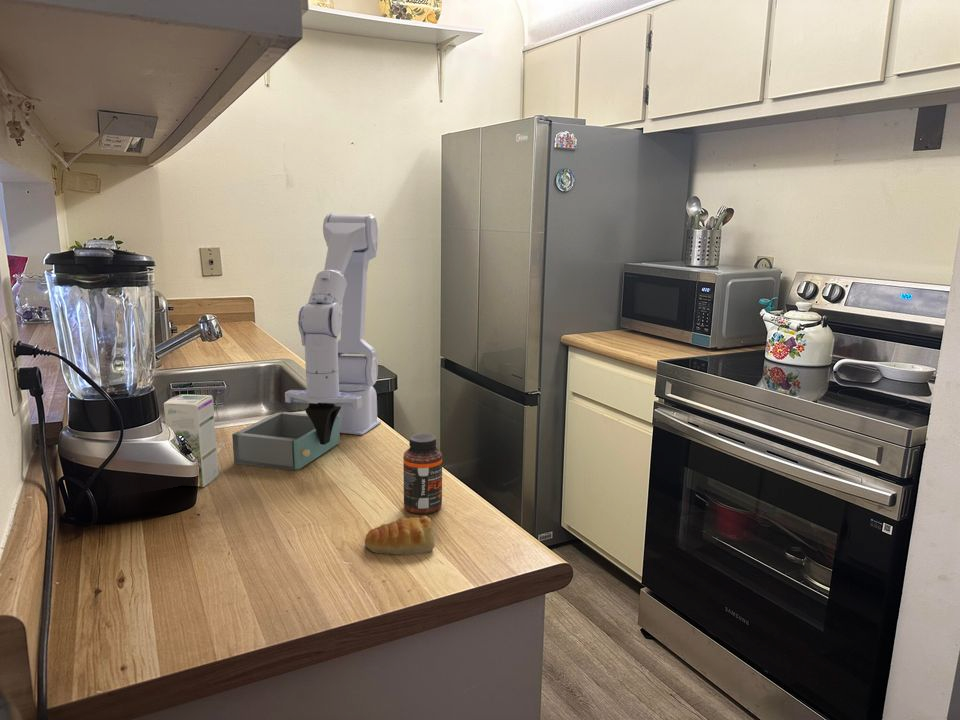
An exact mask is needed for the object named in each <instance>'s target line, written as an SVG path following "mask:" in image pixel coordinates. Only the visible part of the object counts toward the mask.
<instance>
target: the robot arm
mask: <svg viewBox="0 0 960 720" xmlns="http://www.w3.org/2000/svg"><path fill="white" fill-rule="evenodd" d="M322 223H323V224H322V233H323V239H324V241H325V243H326V247H327V251H326V252H327V253H326V258H325V263H324V269H323V270H321V271H319V272H318V273H317V274H316V275H315V279H314V282H313V286H312V289H311V292H310V296H309V298H308V301H307V303H306V304H305V305H304V306H301V307H300V310H299V311H298V316H297V317H298V318H297V320H298V321H297V324H298V325H297V327H298V331H299V334H300V336H301V337H300V338H301V341H300V342H301V345H302V346H303V347H304V361H305V383H306V386H305V387H306V389H305V390H304V389H290V390H287V391H285V392H284V398H285V403H289V404H291V403H301V404H308V407H306V408H305V414H307V415H308V416H309V418H310V419H311V421H312V423H313V425H314V427H315V429H316V432H317V435H318V438H319V442H320V444H322V445H325V444H327V443H328V442H330V437H331V432H332V428H333V425H334V422H335V419H336V417H337V416H338V417H339V430H340V433H341V434H349V435H357V436H358V435H359V436H363V435H365V434H366V433H368V432H369V431H371V430H372V429H373V428H375V427H376V426H378V425H379V424H381V423H382V420H381V419H378V400H377V398H378V397H377V391H376V389H375V387H374V385H375V384H376V383H377V380H378V373H379V365H378V354H377V351H376V348H375V347H373V346H372V345H370V343H368V342H367V341H366V340H365V326H366V325H365V321H366V304H367V303H366V300H367V284H368V283H367V280H368V268H369V263H370V261H371V260H373V259H374V258H377V252H378V240H379V237H378V236H379V235H378V234H379V229H378V222H377V218H376V217H375V216H374V214H373V213H367V214H342V213H341V214H335V213H334V214H333V213H328V214H326V216H325V217H324V219H323V222H322ZM338 336H340V339H339V340H338ZM345 354H346V355H345ZM361 355H362V356H361ZM363 355H364V356H363Z"/></svg>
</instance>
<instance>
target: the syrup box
mask: <svg viewBox="0 0 960 720" xmlns="http://www.w3.org/2000/svg"><path fill="white" fill-rule="evenodd" d="M214 406H215V405H214V397H213V395H210V394H209V395H208V394H182V393H181V394H178V395H175V396H173V397H171V398H169V399H168V400H167V401H165V402H163V410H164V412H163V413H164V420H165V426H166V425H167V426H168V427H170V428H171V429H172V430H173V432H174V433H175V434H176V435H179V436H184V437H185V438H186V440H187V441H188V443H189V444H190V446H191V449H192V454H193V456H194V457H195V459H196V461H197V463H198V467H199V487H198V488H205V487H206V486H208V485H209V484H210V483H212V482H213V481H214V480H216V478H218V477H219V476H220V473H219V472H220V471H219V462H218V453H217V452H218V451H217V450H218V449H217V439H216V438H217V437H216V427H215V426H216V424H215V409H214Z"/></svg>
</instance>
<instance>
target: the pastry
mask: <svg viewBox="0 0 960 720" xmlns="http://www.w3.org/2000/svg"><path fill="white" fill-rule="evenodd" d="M431 521H432V520H431V517H428V516H427V515H422V517H400V518H398V519H396V520H395V521H392V522H389V523H387V524H385V523H384V524H381V525H380V526H377V527H374V528H372V529H370V530H369V531H368V532H367V534H366V535H365V538H364V546H365V547H366V548H367V549H368V550H369V551H371V552H373V553H376V554H385V555H386V554H387V555H393V556H400V555H417V554H418V555H419V554H426V553H430V552H432V551H433V550H434V549H435V546H436V545H435V543H436V542H435V537H434V532H433V528H432V522H431Z"/></svg>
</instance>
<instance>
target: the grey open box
mask: <svg viewBox="0 0 960 720" xmlns="http://www.w3.org/2000/svg"><path fill="white" fill-rule="evenodd" d="M314 429H315V427H314V425H313V423H312V421H311V419H310V418H309V416H308V415H307V413H301V412H300V413H297V412H289V411H277V412H275V413H273V414H271V415H269V416H267V417H265V418H263V419H260V420H258V421H257V422H255V423H253V424H251V425H249V426H247V427H244V428H243V429H240V430H238V431H237V432H233V433H232V435H231V436H232V450H233V451H232V453H233V464H236V465H244V466H251V467H260V468H267V469H276V470H282V471H291V472H294V471H296V470H297V469H295V460H294V441H295V440H296V439H298V438H300V437H302V436H303V435H305V434H307V433H309V432H310V431H312V430H314Z"/></svg>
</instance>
